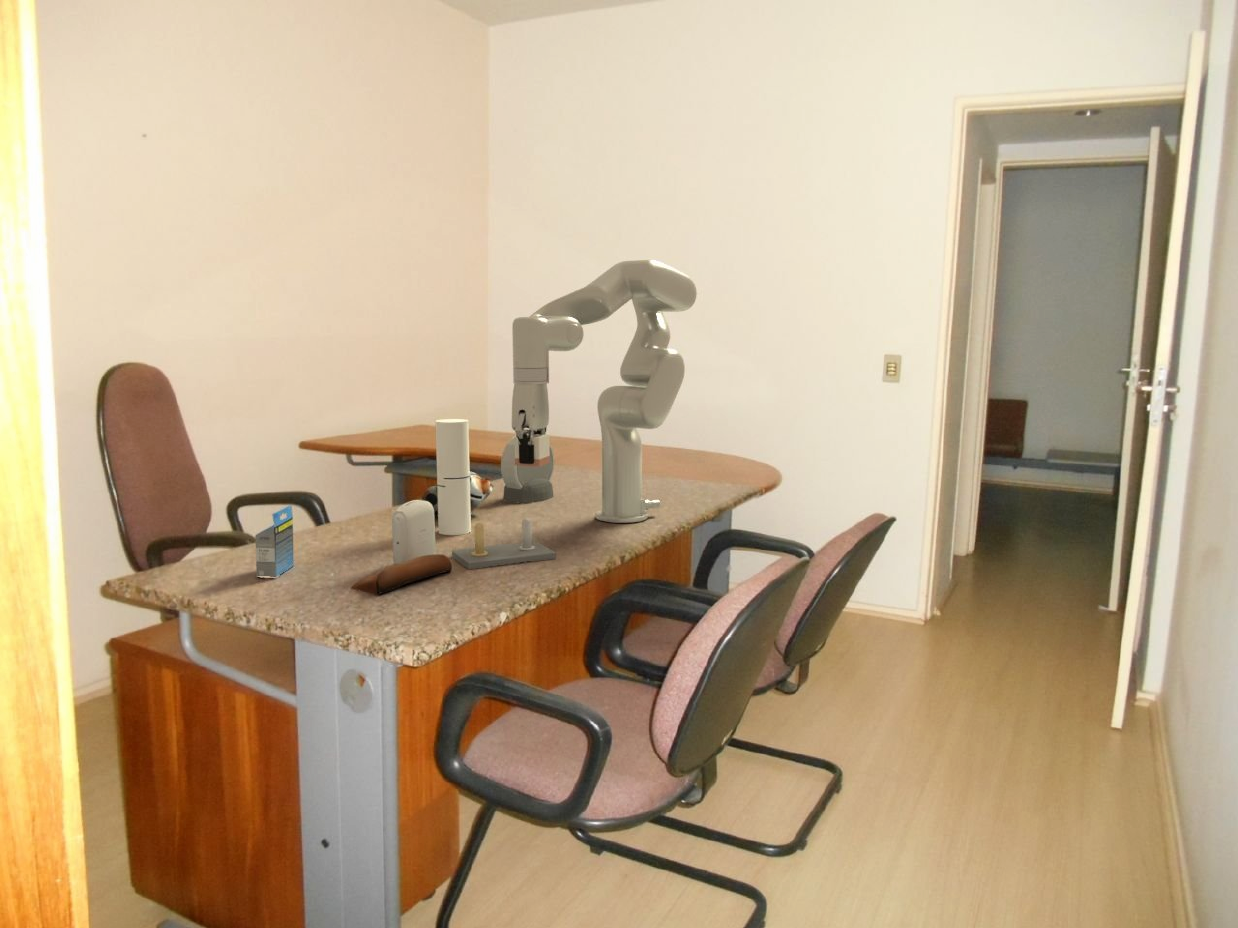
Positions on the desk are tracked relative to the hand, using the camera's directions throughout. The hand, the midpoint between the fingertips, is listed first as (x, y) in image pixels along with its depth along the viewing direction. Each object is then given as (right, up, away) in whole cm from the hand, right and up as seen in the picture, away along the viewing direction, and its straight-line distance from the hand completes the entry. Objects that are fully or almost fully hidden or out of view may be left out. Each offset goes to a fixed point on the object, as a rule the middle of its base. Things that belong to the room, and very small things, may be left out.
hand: (532, 460), depth 197 cm
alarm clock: (-6, -10, +49) cm, 50 cm away
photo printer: (-21, -20, -17) cm, 34 cm away
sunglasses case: (-21, -23, -29) cm, 42 cm away
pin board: (-5, -19, -12) cm, 23 cm away
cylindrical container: (-18, -16, +10) cm, 26 cm away
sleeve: (0, -1, 0) cm, 1 cm away
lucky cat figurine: (-21, -14, +27) cm, 37 cm away
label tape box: (-46, -21, -23) cm, 56 cm away
